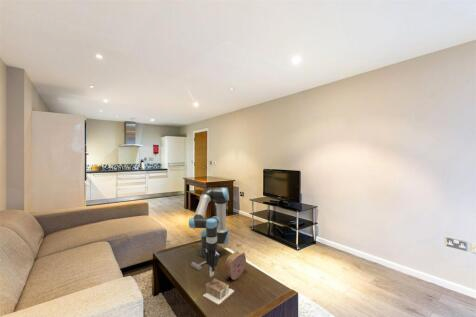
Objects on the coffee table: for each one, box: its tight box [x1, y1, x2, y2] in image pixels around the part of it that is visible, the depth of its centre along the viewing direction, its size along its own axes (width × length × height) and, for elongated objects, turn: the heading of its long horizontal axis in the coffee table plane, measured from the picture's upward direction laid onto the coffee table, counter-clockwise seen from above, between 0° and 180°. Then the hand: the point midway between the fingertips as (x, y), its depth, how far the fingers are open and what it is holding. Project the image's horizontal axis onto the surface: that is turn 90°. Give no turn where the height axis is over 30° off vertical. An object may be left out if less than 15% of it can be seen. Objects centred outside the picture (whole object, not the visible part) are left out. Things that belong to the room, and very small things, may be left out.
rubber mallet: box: [190, 252, 223, 271], centre depth 182 cm, size 10×4×30 cm
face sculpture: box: [224, 251, 247, 281], centre depth 161 cm, size 20×7×17 cm, turn 144°
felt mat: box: [202, 288, 235, 306], centre depth 140 cm, size 16×14×1 cm
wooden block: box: [205, 277, 230, 299], centre depth 141 cm, size 9×5×13 cm
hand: (211, 275), depth 144 cm, fingers closed
